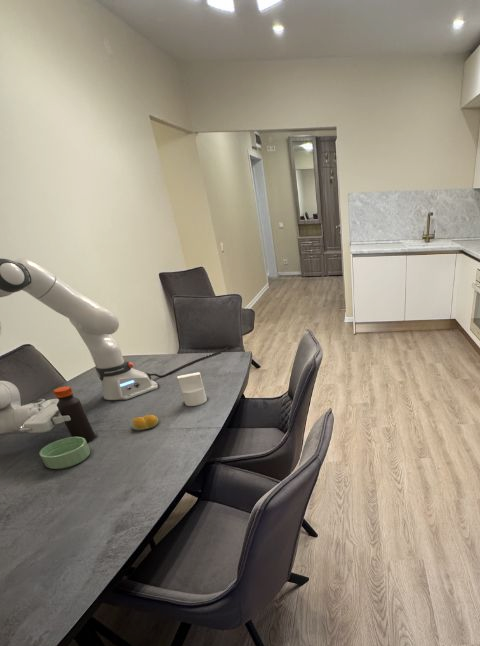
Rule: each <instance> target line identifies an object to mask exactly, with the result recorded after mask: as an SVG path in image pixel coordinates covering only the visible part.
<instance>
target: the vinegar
mask: <svg viewBox="0 0 480 646" xmlns="http://www.w3.org/2000/svg"><path fill="white" fill-rule="evenodd" d="M53 393H54V395H55V398H56V399H59V401H58V403H57V407H58V409H59V412H60V414H61V416H64V415H68V414H70V415H71V417H72V419H71V420H70V421H65V422H64V424H65V426H66V428H67V431H68V432H69V435H70V437H82V438H85V440H86V442H87V443H89V442H90V441H93V440H94V439H95V437H96V433H95V432H94V430H93V427H92V425H91V423H90V420H89V418H88V416H87V413H86V412H85V409H84V407H83V404H82V403H81V400H80V399H79V398H78V397H76V396H74V392H73V390H72V388H71V386H67V385H65V386H59V387H57V388H54V389H53Z"/></svg>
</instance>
